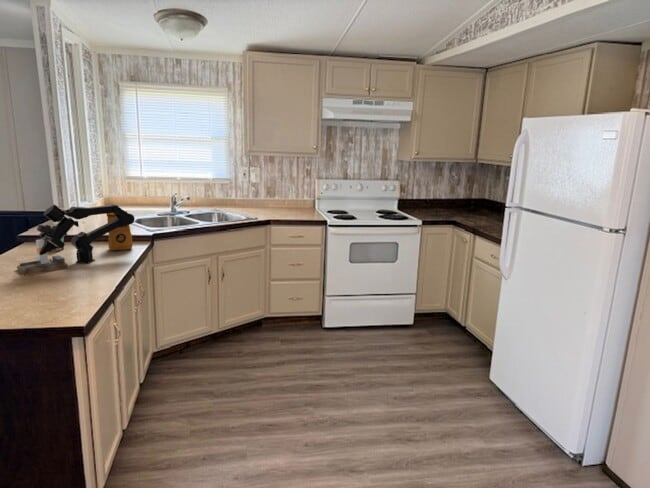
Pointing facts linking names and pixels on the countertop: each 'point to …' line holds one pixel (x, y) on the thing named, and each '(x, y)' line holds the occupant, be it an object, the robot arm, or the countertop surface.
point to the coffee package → (119, 236)
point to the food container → (59, 247)
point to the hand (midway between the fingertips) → (39, 253)
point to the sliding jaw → (43, 258)
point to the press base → (42, 266)
